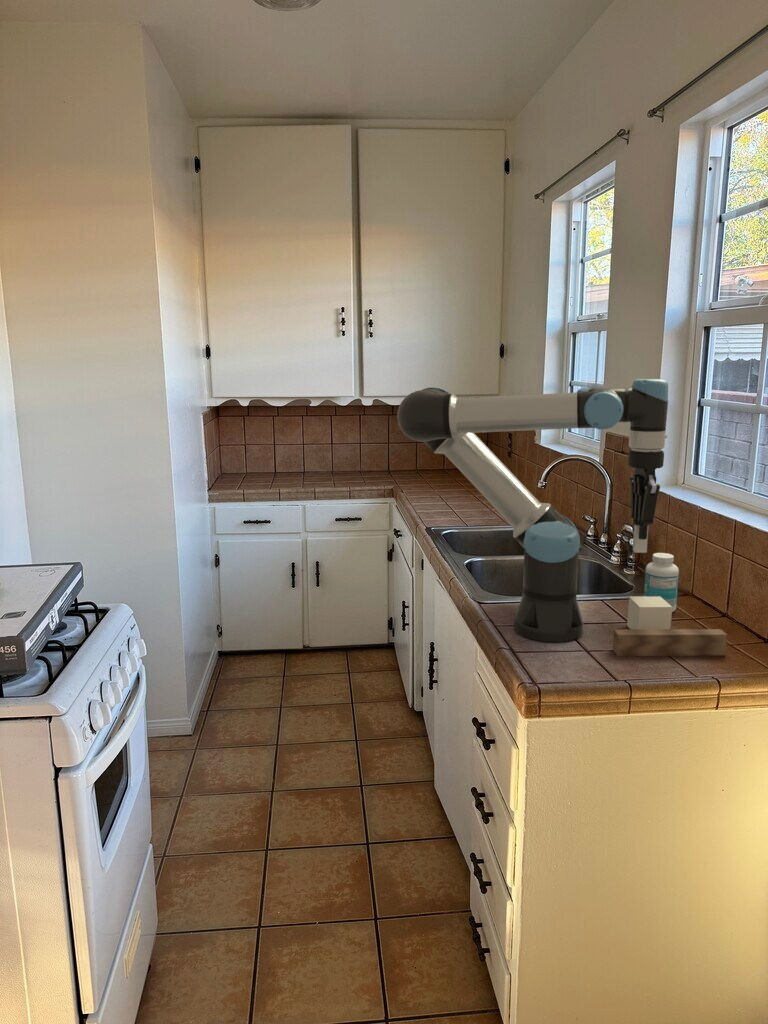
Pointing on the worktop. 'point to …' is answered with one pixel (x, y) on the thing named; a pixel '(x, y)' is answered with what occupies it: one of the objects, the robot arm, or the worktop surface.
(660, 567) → the pill bottle
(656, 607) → the block
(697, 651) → the board
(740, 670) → the worktop surface
